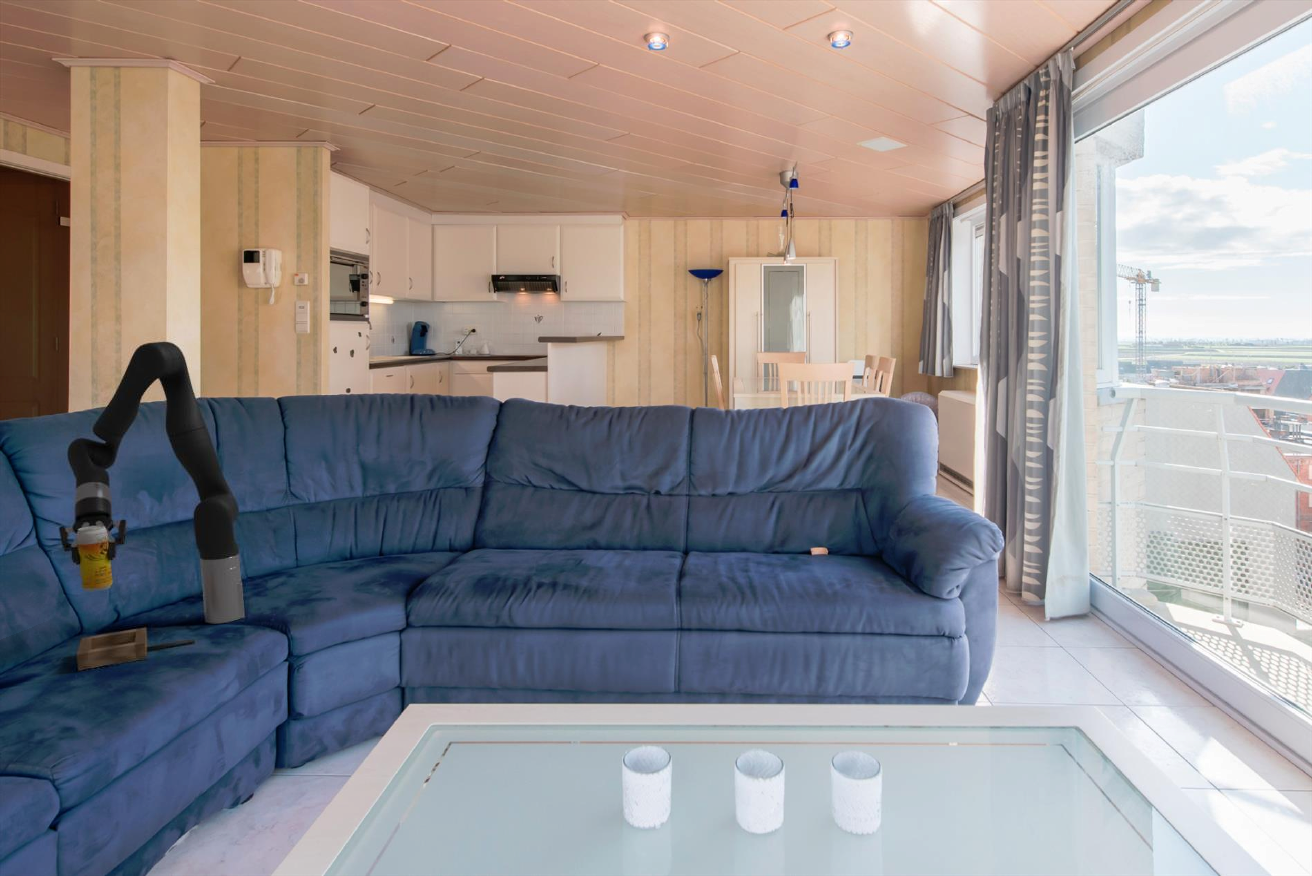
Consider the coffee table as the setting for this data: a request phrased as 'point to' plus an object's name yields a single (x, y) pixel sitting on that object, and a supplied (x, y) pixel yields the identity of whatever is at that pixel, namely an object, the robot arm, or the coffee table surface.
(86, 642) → the walnut collar
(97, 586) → the soda can
